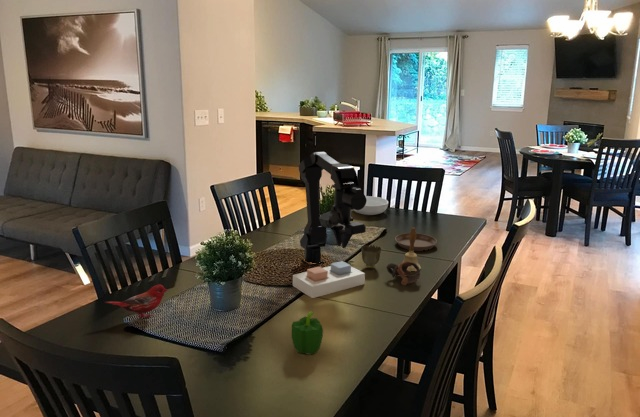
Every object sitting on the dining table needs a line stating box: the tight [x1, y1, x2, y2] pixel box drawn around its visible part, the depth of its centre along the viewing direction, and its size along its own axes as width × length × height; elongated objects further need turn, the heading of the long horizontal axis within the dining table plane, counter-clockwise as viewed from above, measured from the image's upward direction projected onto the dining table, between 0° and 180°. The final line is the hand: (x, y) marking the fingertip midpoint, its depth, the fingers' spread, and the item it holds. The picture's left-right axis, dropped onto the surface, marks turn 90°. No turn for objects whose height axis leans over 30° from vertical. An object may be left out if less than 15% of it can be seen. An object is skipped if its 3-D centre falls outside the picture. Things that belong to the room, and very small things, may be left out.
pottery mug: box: [386, 261, 421, 286], centre depth 181 cm, size 12×10×8 cm
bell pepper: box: [291, 311, 324, 355], centre depth 133 cm, size 8×8×10 cm
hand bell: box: [402, 227, 422, 272], centre depth 192 cm, size 8×8×16 cm
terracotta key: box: [306, 266, 328, 282], centre depth 173 cm, size 5×5×3 cm
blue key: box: [330, 260, 352, 276], centre depth 178 cm, size 5×5×3 cm
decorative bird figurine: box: [104, 284, 169, 319], centre depth 149 cm, size 3×18×10 cm, turn 107°
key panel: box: [292, 265, 366, 299], centre depth 176 cm, size 12×22×4 cm, turn 125°
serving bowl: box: [352, 195, 389, 216], centre depth 270 cm, size 21×21×7 cm
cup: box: [360, 244, 382, 270], centre depth 192 cm, size 8×7×8 cm
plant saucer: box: [394, 232, 438, 252], centre depth 220 cm, size 18×18×3 cm
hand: (341, 246), depth 176 cm, fingers open, 2 cm apart
